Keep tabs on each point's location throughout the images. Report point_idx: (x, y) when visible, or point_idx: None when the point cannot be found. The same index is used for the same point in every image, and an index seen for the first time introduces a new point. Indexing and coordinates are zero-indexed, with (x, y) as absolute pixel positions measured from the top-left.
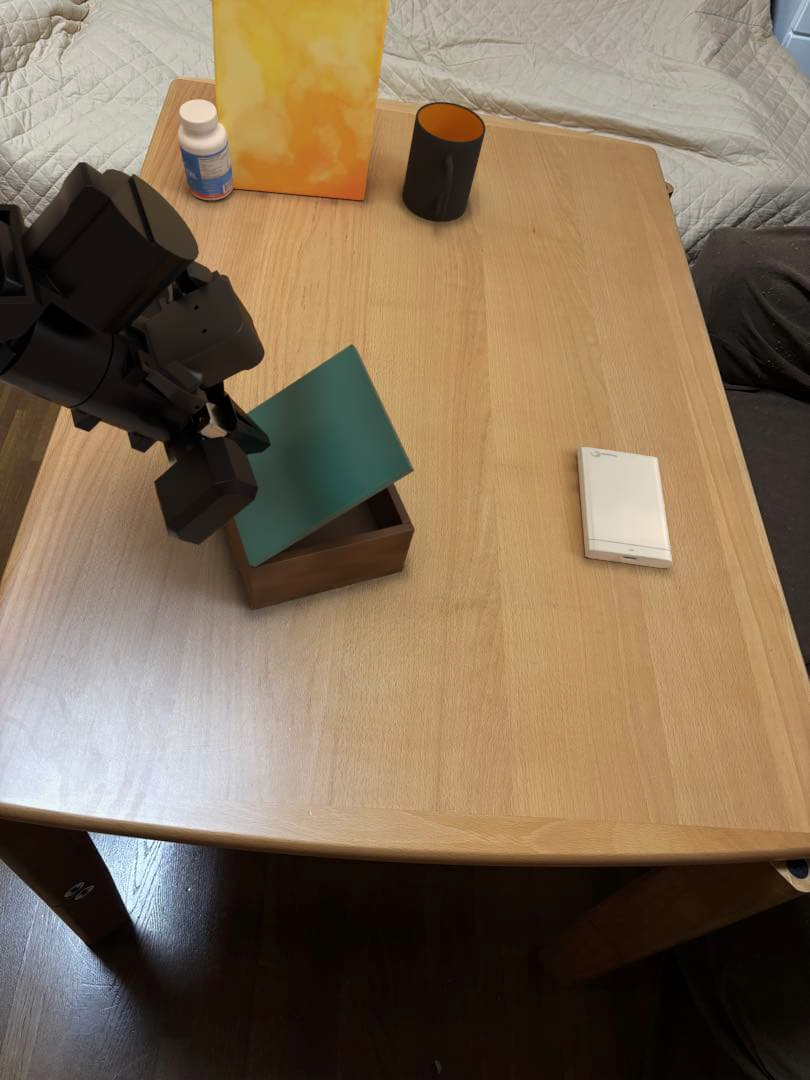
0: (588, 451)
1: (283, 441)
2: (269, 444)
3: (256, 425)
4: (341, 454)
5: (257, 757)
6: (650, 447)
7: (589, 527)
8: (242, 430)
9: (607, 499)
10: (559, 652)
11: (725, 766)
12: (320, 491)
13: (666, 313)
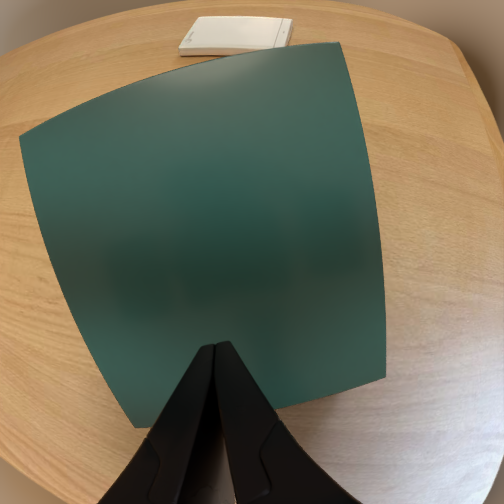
0: (184, 44)
1: (174, 309)
2: (232, 344)
3: (188, 380)
4: (255, 177)
5: (486, 348)
6: (184, 25)
7: (261, 47)
8: (296, 458)
9: (234, 37)
10: (374, 91)
11: (427, 46)
12: (323, 239)
13: (84, 29)
